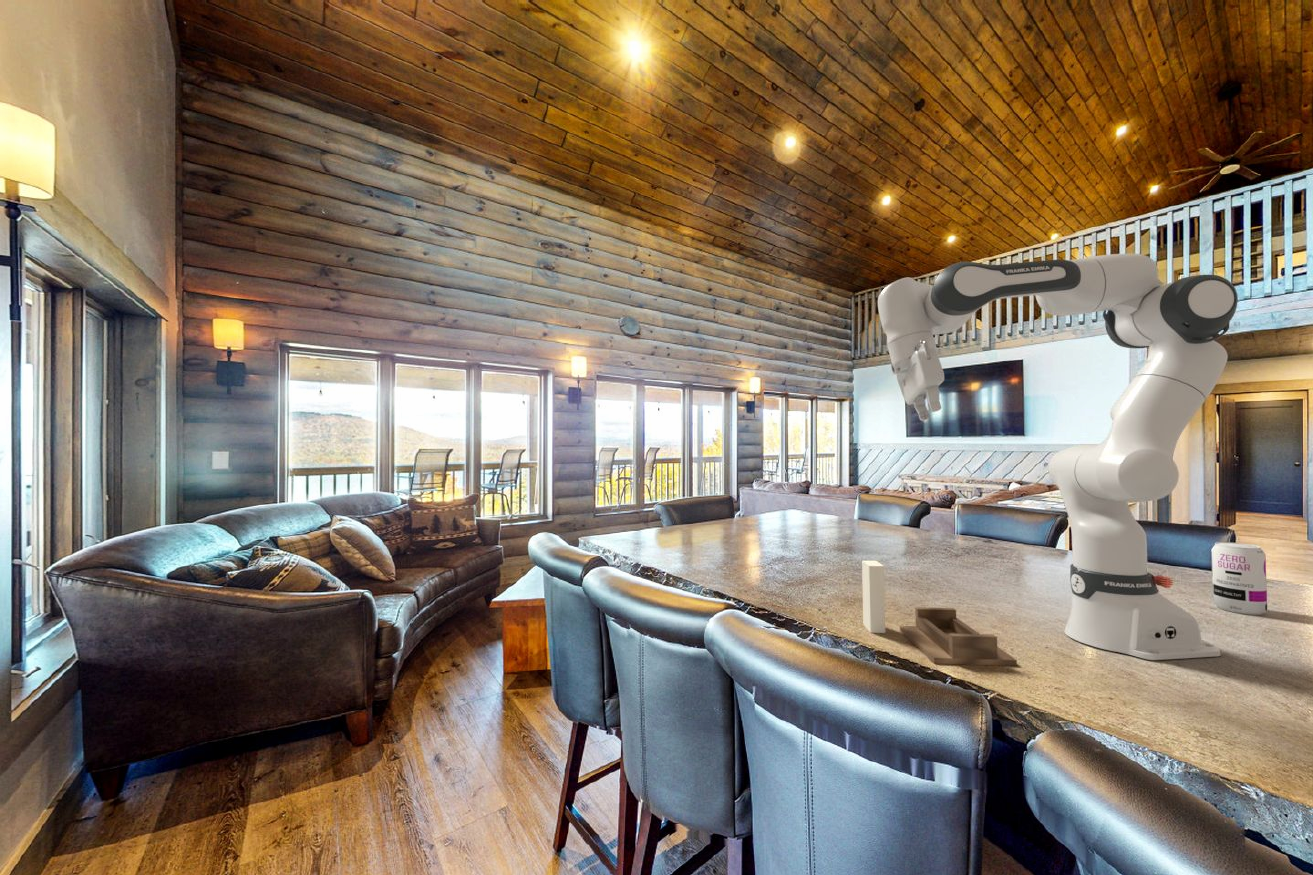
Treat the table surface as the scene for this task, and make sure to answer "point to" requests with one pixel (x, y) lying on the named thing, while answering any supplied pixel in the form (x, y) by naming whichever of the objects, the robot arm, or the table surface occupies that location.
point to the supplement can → (1239, 578)
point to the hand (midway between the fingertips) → (930, 415)
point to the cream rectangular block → (873, 596)
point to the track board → (953, 640)
